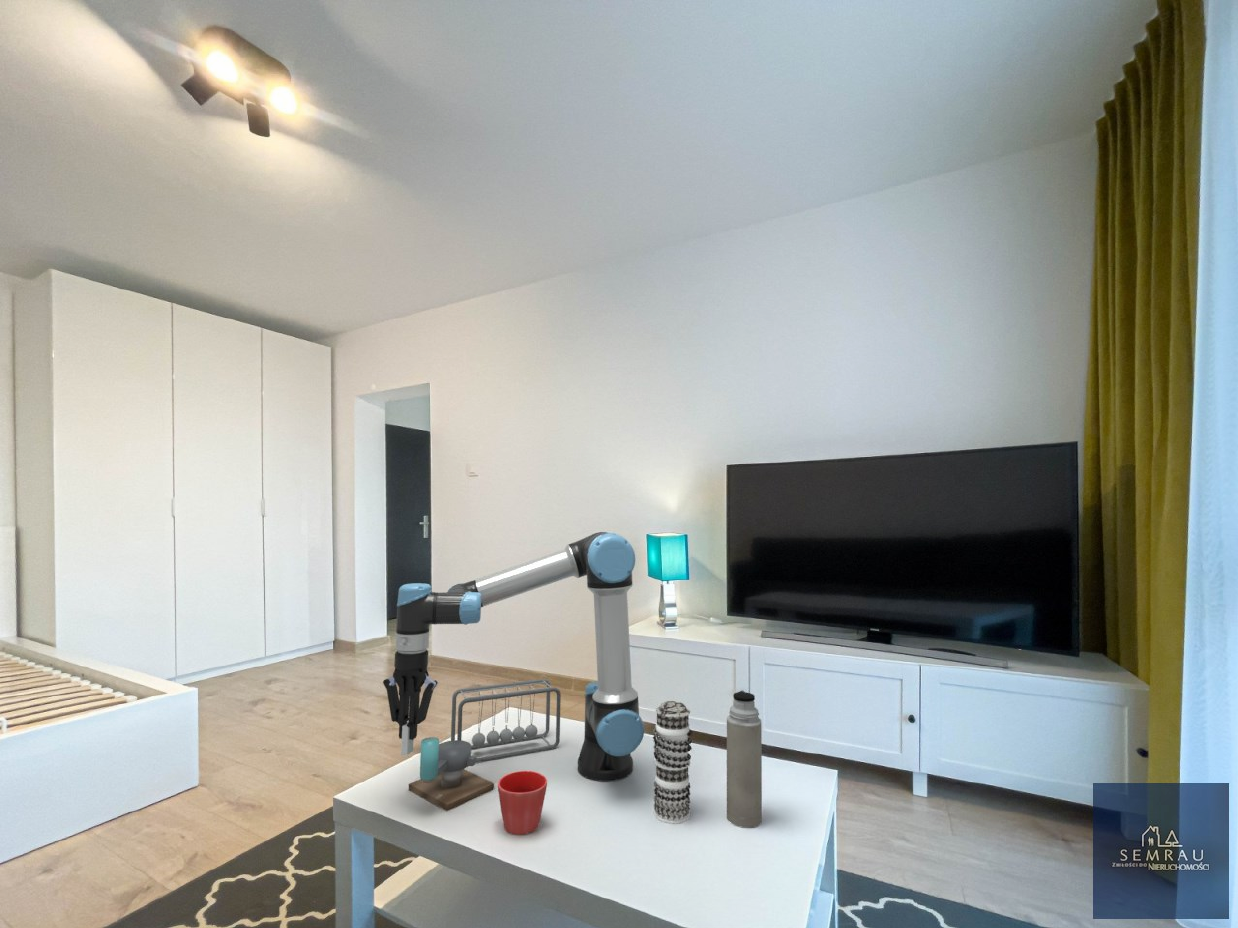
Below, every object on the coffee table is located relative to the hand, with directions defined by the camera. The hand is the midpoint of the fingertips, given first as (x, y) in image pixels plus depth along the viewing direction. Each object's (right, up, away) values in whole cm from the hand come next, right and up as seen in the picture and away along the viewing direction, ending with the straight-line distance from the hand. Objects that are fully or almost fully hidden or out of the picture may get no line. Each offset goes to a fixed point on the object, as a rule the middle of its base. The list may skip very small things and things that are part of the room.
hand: (407, 752), depth 137 cm
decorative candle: (+62, -14, 0) cm, 64 cm away
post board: (+8, -14, +10) cm, 19 cm away
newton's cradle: (+17, -17, +34) cm, 41 cm away
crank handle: (+7, -8, +6) cm, 12 cm away
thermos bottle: (+79, -15, -2) cm, 80 cm away
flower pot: (+28, -14, -6) cm, 32 cm away
